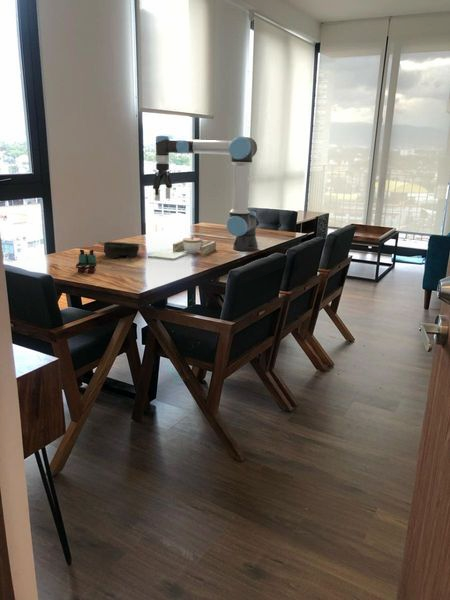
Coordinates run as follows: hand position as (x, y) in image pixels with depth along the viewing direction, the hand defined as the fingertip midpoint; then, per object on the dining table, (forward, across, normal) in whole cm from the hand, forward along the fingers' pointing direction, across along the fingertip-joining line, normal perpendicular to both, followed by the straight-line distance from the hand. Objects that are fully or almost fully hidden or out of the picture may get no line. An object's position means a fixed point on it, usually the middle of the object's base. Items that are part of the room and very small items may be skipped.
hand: (162, 199), depth 297 cm
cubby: (+28, +7, +24) cm, 37 cm away
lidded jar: (+28, +11, +24) cm, 39 cm away
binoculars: (+28, +77, -2) cm, 82 cm away
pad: (+28, +27, +16) cm, 42 cm away
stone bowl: (+28, +37, -7) cm, 47 cm away
